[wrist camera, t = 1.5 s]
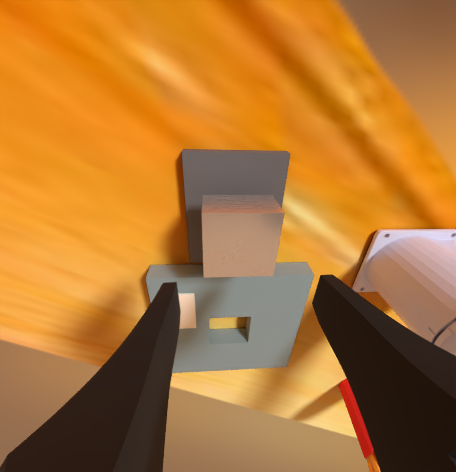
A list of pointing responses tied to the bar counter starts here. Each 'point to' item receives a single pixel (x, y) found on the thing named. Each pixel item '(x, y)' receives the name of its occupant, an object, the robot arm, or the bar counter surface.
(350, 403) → the french fries
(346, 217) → the bar counter surface
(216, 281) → the hole plate
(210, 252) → the tan cubic block
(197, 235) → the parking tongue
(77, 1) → the bar counter surface
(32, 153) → the bar counter surface
